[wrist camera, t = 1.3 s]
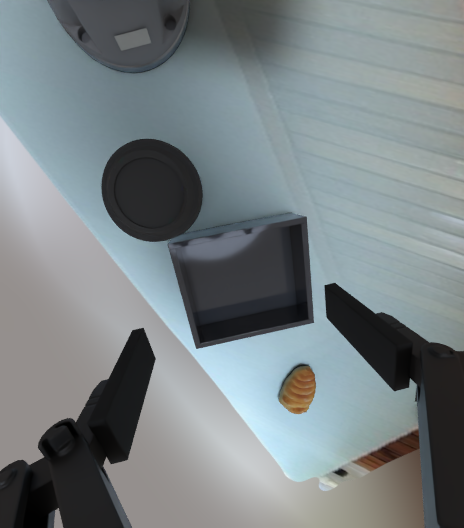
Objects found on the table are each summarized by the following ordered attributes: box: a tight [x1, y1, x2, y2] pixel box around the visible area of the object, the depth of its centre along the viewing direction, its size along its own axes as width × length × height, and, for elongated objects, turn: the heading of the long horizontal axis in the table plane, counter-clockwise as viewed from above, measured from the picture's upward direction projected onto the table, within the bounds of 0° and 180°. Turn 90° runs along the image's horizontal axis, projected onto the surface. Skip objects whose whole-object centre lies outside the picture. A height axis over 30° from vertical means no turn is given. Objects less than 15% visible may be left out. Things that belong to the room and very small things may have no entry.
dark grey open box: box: [168, 213, 314, 349], centre depth 36 cm, size 17×19×6 cm
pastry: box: [279, 366, 316, 414], centre depth 45 cm, size 9×7×4 cm
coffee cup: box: [102, 139, 203, 242], centre depth 26 cm, size 9×9×15 cm
